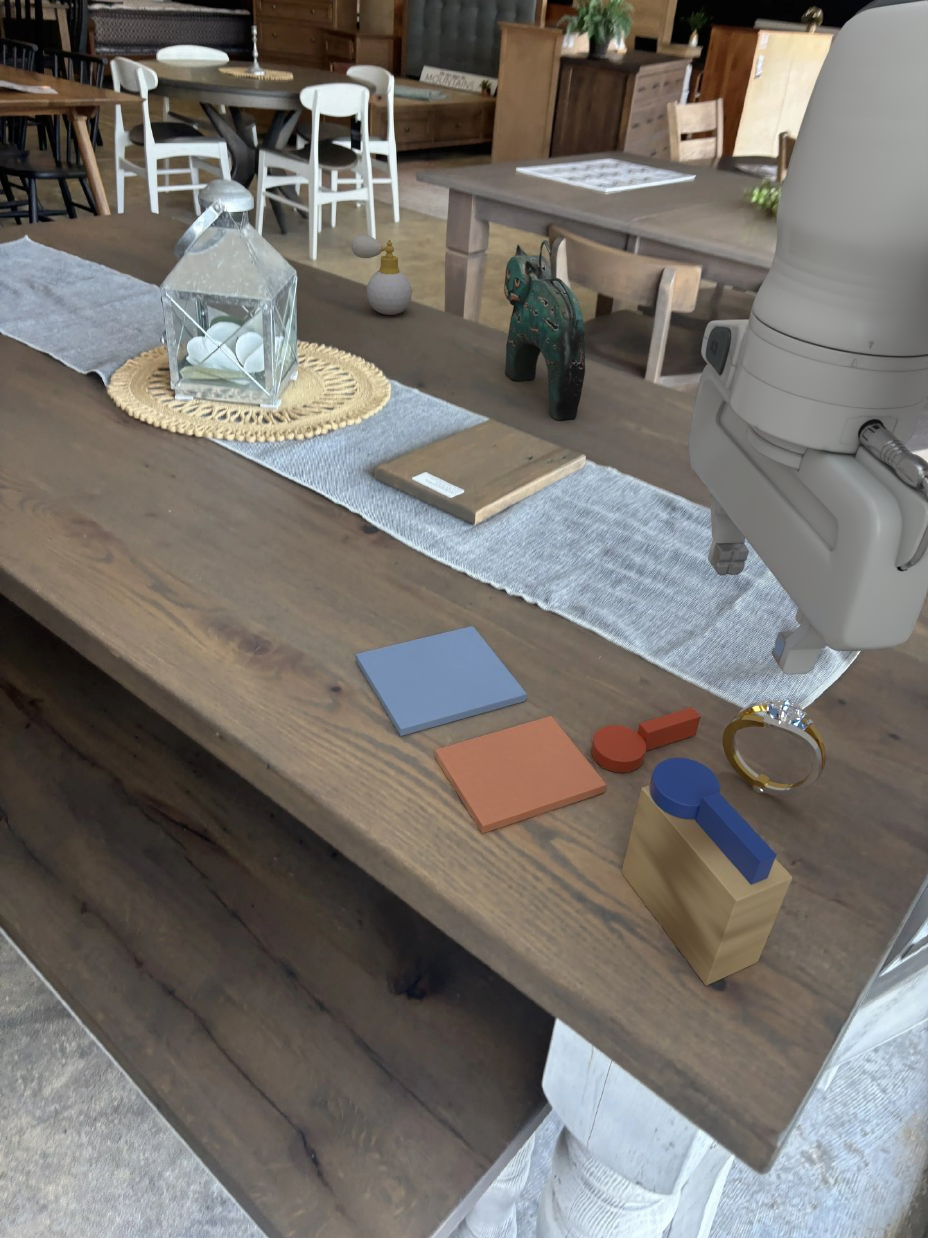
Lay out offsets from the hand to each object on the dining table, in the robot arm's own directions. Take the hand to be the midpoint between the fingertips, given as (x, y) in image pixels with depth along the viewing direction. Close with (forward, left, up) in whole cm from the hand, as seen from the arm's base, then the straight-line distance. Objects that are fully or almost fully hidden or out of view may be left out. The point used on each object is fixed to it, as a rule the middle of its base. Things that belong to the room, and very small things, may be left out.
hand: (754, 614), depth 52 cm
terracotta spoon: (+8, -3, -19) cm, 21 cm away
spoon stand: (-6, +4, -19) cm, 20 cm away
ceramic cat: (+73, -30, -19) cm, 81 cm away
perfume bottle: (+113, -22, -19) cm, 117 cm away
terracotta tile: (+9, +8, -19) cm, 23 cm away
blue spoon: (-6, +4, -11) cm, 13 cm away
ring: (+1, -7, -19) cm, 20 cm away
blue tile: (+21, +9, -19) cm, 30 cm away
